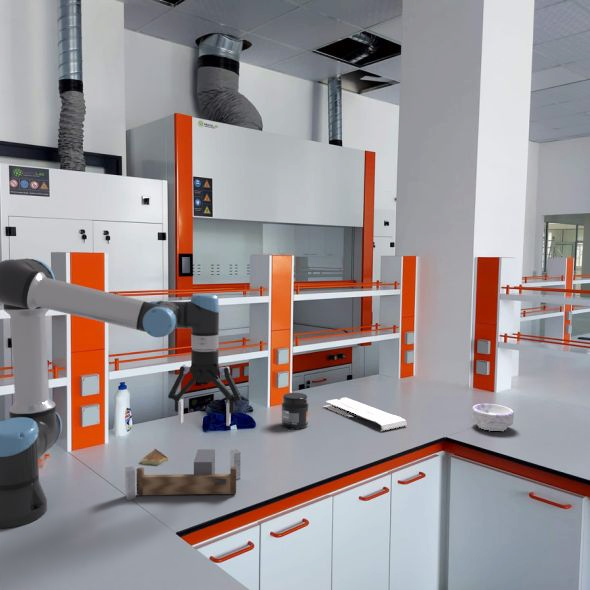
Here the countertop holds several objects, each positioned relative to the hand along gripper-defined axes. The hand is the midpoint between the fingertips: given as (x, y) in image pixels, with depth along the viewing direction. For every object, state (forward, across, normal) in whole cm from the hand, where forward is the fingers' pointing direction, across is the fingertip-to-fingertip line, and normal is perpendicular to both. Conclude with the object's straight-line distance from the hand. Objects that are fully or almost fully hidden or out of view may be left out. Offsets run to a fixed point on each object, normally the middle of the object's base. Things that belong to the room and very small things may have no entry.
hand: (204, 423), depth 156 cm
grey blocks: (+19, -6, 0) cm, 20 cm away
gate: (+18, -4, -5) cm, 19 cm away
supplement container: (+19, +23, +59) cm, 66 cm away
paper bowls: (+19, +100, +62) cm, 119 cm away
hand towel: (+19, +51, +73) cm, 91 cm away
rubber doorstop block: (+19, 0, +2) cm, 19 cm away
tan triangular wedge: (+20, -21, +20) cm, 35 cm away
